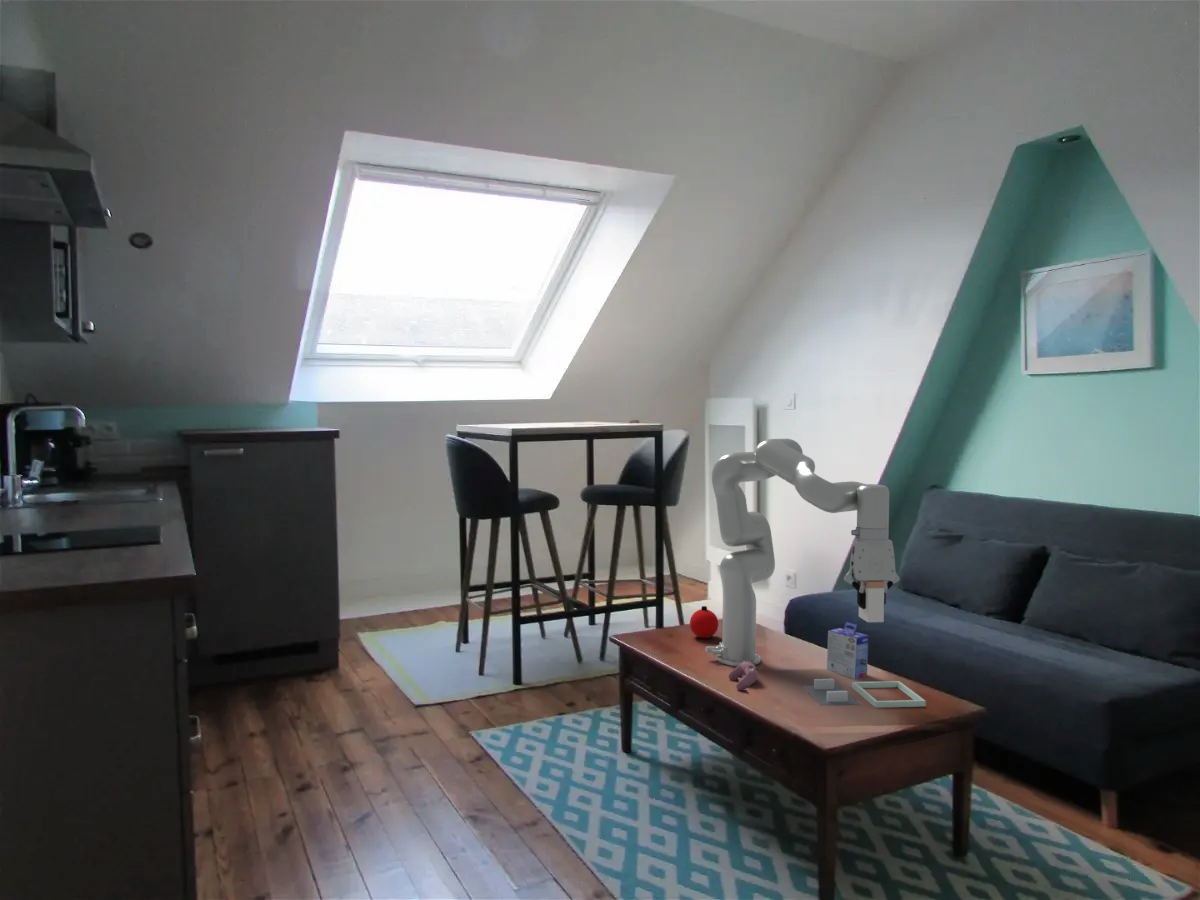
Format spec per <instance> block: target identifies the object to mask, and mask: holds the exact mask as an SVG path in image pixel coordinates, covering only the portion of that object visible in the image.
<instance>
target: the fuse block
mask: <svg viewBox="0 0 1200 900" xmlns="http://www.w3.org/2000/svg"><path fill="white" fill-rule="evenodd" d="M801 687H802V688H803V689H804V690H805V691H806V692H807V693H808V694H809V695H810V696H811V697H812V698H813V699H814V700H815V701H816V702H817V703H818V704H819V706H851V705H857V706H858V705H861V703H860V702H859V701H858V700H857V699H856V698H855V697H853V696H852V695H851V694H850V693H849V691H848V690H846V689H844V688H843V687H842V686H841V685H840V684H835V679H834V678H814V679H813V685H802V686H801Z"/></svg>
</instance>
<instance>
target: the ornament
mask: <svg viewBox="0 0 1200 900" xmlns="http://www.w3.org/2000/svg"><path fill="white" fill-rule="evenodd" d="M689 627H690V629H691V632H692V633H693V635H695V636H696V637H697V638H700V639H701V638H702V639H708V638H711V637H712V636H714V635H715V634H716V633H717V632H718V628H719V620H718V617H717V615H716V614H715V613H714V612H713V611H711V610H709V609H708V606H707V605H703V606H701V609H700V608H699V609H698V610H696V611H695V612H693V613H692V615H691V616H690V619H689Z"/></svg>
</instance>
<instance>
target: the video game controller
mask: <svg viewBox="0 0 1200 900" xmlns="http://www.w3.org/2000/svg"><path fill="white" fill-rule="evenodd" d="M758 675H759V674H758V671H757V668H756V665H754V664H752V663H750V662H745V661H743V663H740V665H739V666H735V668H734V669H732V670H731V671H730V672H729V674H728V678H729V679H730V680H731V681H734V680H737V679H739V678H738V677H741V679H740V680H739V681H738V682H737V684H736V686H735V687H736V690H737V691H745V690H746V689H747V688H746V687H750V686H751V685H753V684H754V683H755V682H756V681H758Z"/></svg>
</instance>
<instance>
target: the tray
mask: <svg viewBox="0 0 1200 900" xmlns="http://www.w3.org/2000/svg"><path fill="white" fill-rule="evenodd" d="M851 688H852V689H854V691H856V692H857V693H858V694H860V696H861V697H862V698H864V699H865V701H867V702H868V703H869V704H871V706H873V707H874V708H902V707H903V708H905V707H906V708H910V707H912V708H914V707H918V708H920V707H925V708H926V706H927V704H926V703H927V701H926V700H925V699H924V698H922V696H920V695H919V694H917V693H916V692H915V691H914V690H912V689H911V688H910V687H908V686H906V685H905V684H904V683H903V682H901V681H899V680H887V681H886V680H883V681H881V680H880V681H879V680H878V681H852V682H851ZM872 688H873V689H875V688H876V689H878V688H879V689H880V688H884V689H885V688H897V689H899V690H901V691H902V692H903V693H904V694H906V695H907V696H908V697H910V698H911V699H908V700H907V699H901V700H899V699H898V700H877V699H876V698H875V697H873V696H872V695H871V694H870V693H869V692H867V691H866V690H865V689H872Z"/></svg>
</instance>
